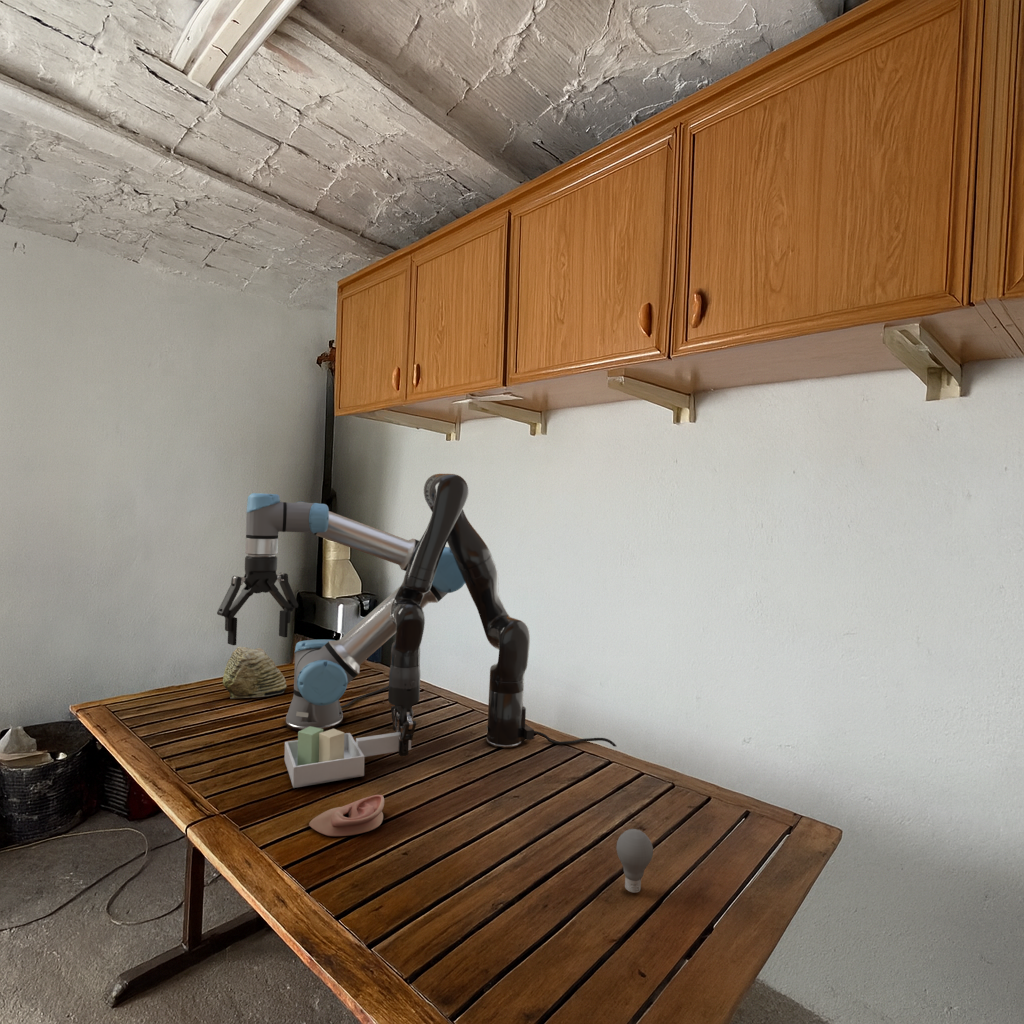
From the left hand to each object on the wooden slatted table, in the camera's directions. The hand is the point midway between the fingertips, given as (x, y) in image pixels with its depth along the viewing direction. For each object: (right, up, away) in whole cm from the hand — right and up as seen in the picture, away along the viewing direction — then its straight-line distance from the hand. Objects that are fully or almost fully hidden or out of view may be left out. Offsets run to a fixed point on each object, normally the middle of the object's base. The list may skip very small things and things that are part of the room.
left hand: (258, 640), depth 158 cm
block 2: (+22, -27, -13) cm, 37 cm away
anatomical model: (+31, -29, -34) cm, 55 cm away
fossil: (-17, -25, +40) cm, 50 cm away
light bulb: (+83, -31, -52) cm, 103 cm away
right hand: (+36, -27, -4) cm, 45 cm away
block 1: (+17, -26, -12) cm, 33 cm away
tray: (+26, -27, -9) cm, 38 cm away
